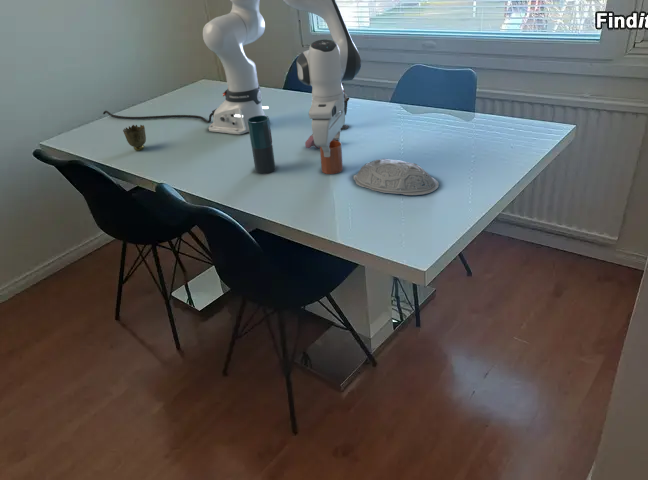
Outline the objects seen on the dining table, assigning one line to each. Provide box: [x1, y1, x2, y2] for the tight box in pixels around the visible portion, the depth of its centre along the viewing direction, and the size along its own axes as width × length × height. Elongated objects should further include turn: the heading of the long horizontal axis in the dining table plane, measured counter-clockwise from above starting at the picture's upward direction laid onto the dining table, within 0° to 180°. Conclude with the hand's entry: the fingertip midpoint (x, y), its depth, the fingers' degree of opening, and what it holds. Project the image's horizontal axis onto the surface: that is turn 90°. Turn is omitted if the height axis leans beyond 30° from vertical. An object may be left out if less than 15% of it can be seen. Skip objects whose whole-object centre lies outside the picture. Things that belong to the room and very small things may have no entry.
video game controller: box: [304, 133, 333, 149], centre depth 179 cm, size 10×5×7 cm, turn 118°
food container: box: [352, 158, 440, 196], centre depth 152 cm, size 16×25×7 cm, turn 52°
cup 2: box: [122, 124, 147, 152], centre depth 194 cm, size 8×7×8 cm
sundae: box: [341, 82, 350, 131], centre depth 190 cm, size 7×7×15 cm
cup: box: [319, 141, 344, 175], centre depth 162 cm, size 6×6×8 cm
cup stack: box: [247, 115, 277, 175], centre depth 165 cm, size 6×6×16 cm
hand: (332, 150), depth 161 cm, fingers open, 8 cm apart
